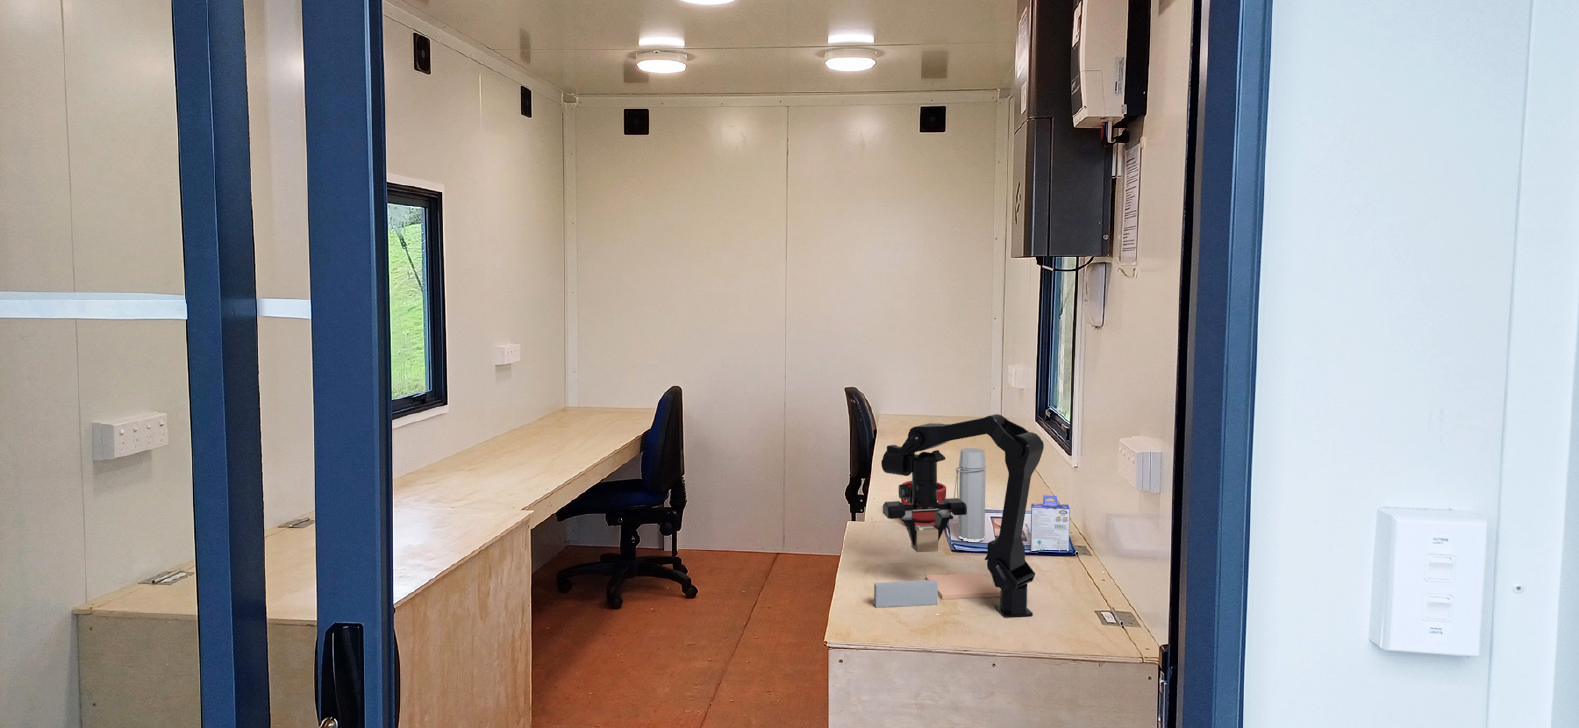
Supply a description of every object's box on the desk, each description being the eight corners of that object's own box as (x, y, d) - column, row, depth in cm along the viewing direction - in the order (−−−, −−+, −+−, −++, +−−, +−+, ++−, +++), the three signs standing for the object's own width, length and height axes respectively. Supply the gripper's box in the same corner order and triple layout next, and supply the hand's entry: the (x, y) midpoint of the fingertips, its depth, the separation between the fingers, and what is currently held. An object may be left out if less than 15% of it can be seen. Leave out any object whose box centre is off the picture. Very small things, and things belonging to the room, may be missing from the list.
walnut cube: (938, 551, 222) (938, 529, 221) (917, 552, 221) (917, 530, 220) (931, 545, 226) (931, 523, 226) (911, 546, 226) (911, 525, 225)
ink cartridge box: (1068, 548, 256) (1069, 495, 255) (1069, 554, 251) (1071, 500, 249) (1029, 546, 258) (1030, 493, 257) (1030, 552, 253) (1031, 498, 251)
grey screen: (937, 604, 214) (937, 582, 214) (876, 607, 212) (876, 585, 212) (934, 601, 216) (935, 579, 216) (874, 604, 214) (874, 582, 214)
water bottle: (981, 535, 269) (982, 447, 266) (988, 543, 261) (989, 453, 259) (948, 536, 269) (949, 448, 266) (954, 544, 261) (955, 453, 258)
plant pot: (896, 529, 276) (897, 488, 275) (905, 517, 289) (905, 478, 287) (942, 532, 272) (942, 491, 271) (948, 520, 285) (949, 481, 284)
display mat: (1001, 596, 219) (1001, 591, 219) (942, 599, 218) (942, 595, 217) (981, 576, 233) (981, 572, 233) (925, 579, 231) (925, 575, 231)
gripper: (952, 469, 231) (952, 533, 233) (876, 473, 229) (877, 537, 230) (967, 479, 220) (967, 545, 222) (888, 483, 218) (889, 550, 219)
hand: (924, 544), depth 223 cm, fingers closed on walnut cube, 5 cm apart
